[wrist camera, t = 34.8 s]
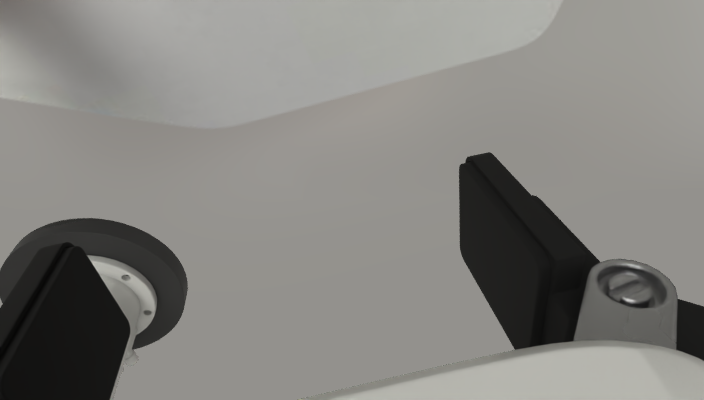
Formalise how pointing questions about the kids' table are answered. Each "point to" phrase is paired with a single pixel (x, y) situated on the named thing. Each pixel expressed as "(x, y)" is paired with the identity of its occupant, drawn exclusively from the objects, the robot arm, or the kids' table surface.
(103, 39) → the kids' table surface
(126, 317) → the robot arm
